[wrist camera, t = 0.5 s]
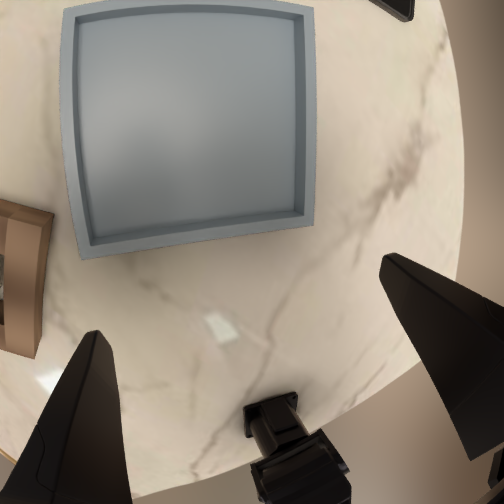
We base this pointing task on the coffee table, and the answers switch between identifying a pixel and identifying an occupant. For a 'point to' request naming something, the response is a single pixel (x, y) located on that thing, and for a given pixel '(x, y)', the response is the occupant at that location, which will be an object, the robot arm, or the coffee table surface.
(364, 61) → the coffee table surface
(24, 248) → the collar
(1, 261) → the gold capped metal cylinder
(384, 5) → the phone
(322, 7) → the coffee table surface
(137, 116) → the tray
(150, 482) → the coffee table surface
